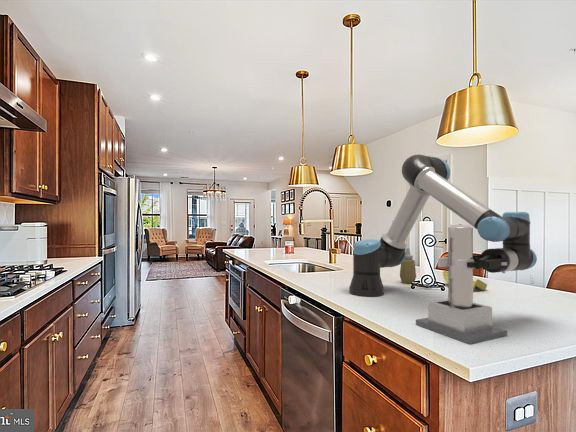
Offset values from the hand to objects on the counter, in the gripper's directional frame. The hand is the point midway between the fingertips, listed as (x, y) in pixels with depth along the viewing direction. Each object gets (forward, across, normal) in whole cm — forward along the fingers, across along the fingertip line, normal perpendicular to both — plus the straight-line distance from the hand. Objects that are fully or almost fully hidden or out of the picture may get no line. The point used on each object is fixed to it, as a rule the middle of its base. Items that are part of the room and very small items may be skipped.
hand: (448, 263), depth 96 cm
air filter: (-5, 0, -14) cm, 15 cm away
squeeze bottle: (-47, +61, -20) cm, 80 cm away
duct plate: (-5, 0, -20) cm, 20 cm away
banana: (-64, +42, -20) cm, 79 cm away
